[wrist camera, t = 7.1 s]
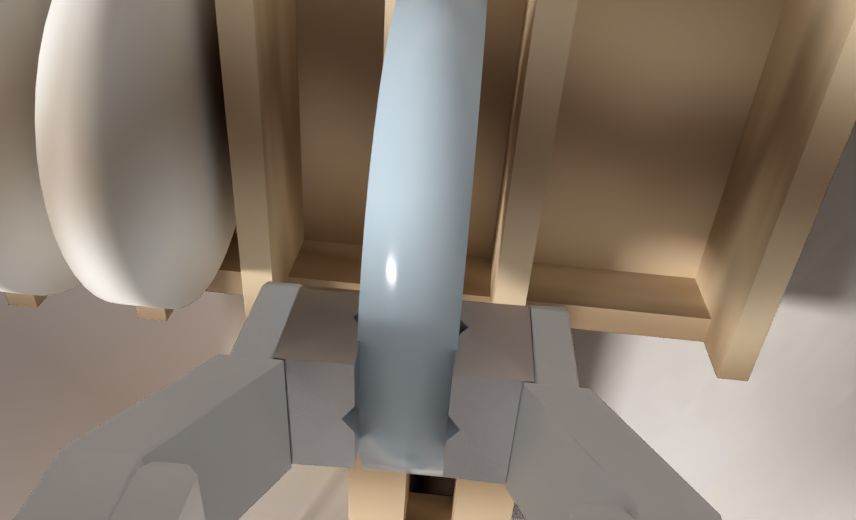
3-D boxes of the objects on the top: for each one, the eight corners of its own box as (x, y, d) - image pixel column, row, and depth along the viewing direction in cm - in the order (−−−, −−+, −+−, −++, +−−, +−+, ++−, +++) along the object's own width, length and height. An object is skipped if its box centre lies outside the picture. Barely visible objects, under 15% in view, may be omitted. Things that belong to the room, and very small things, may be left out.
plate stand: (499, 514, 30) (499, 576, 27) (360, 499, 30) (348, 559, 27) (537, 310, 24) (541, 366, 21) (363, 292, 24) (348, 346, 22)
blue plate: (452, 326, 17) (432, 597, 10) (403, 321, 18) (349, 588, 10) (485, -27, 14) (491, -2, 7) (425, -32, 14) (369, -10, 7)
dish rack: (706, 283, 23) (809, 527, 15) (87, 222, 23) (-108, 425, 16) (853, -153, 16) (1165, -107, 9) (-14, -220, 17) (-431, -232, 9)
